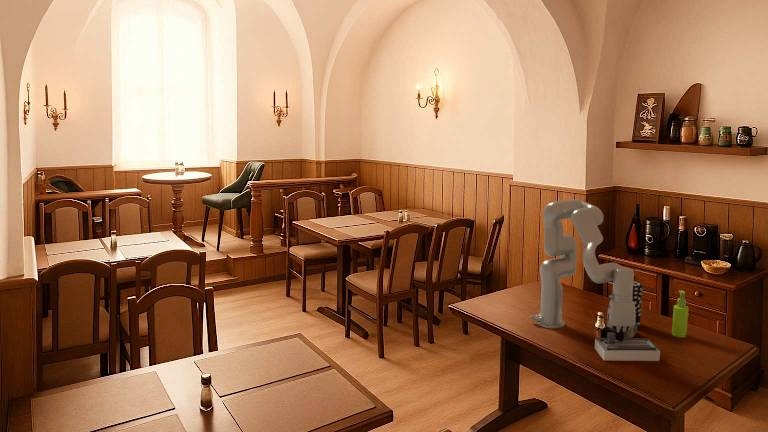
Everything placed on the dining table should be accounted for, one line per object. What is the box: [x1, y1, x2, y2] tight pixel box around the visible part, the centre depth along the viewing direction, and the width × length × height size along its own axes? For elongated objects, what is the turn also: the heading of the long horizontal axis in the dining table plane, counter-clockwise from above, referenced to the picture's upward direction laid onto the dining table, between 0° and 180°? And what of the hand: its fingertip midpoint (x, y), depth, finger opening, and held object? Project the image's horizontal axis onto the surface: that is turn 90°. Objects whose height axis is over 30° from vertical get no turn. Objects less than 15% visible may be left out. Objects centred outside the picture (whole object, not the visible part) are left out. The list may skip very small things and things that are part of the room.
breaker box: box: [594, 337, 661, 362], centre depth 238 cm, size 22×12×5 cm, turn 87°
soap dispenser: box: [671, 289, 690, 338], centre depth 257 cm, size 6×7×20 cm
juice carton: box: [599, 323, 638, 339], centre depth 257 cm, size 20×10×6 cm, turn 137°
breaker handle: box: [606, 332, 615, 344], centre depth 238 cm, size 2×2×5 cm
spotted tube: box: [632, 280, 644, 328], centre depth 270 cm, size 8×8×20 cm
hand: (619, 340), depth 238 cm, fingers closed
